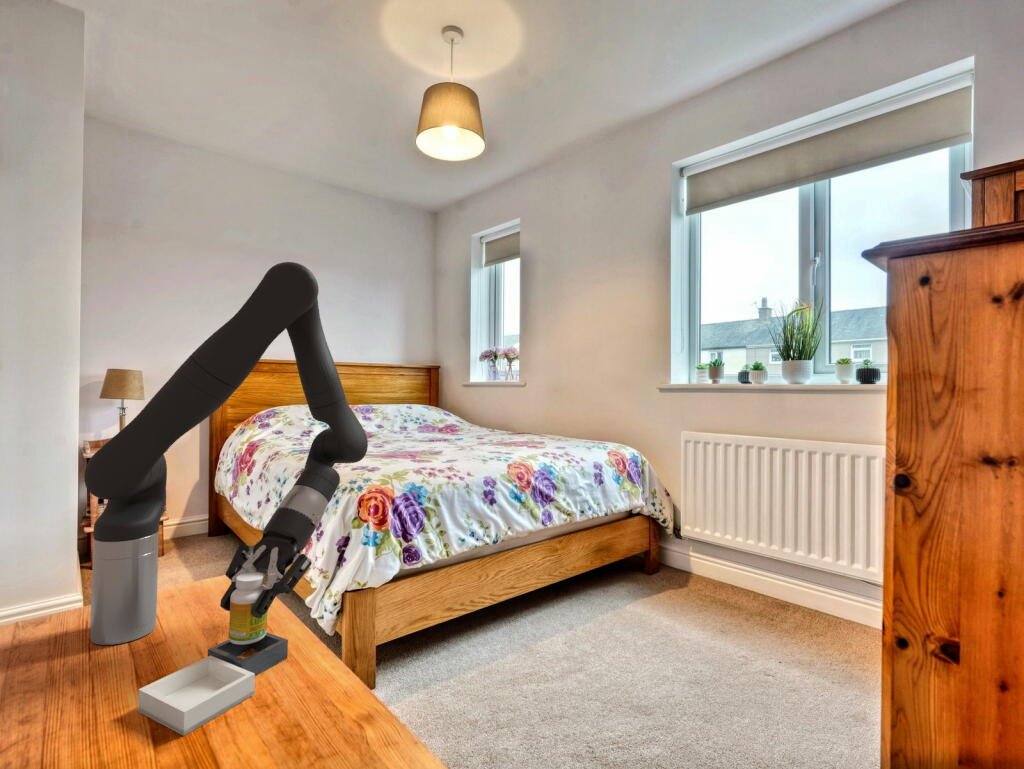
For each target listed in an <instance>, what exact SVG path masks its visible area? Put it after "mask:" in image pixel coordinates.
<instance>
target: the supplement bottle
mask: <svg viewBox="0 0 1024 769" xmlns="http://www.w3.org/2000/svg"><path fill="white" fill-rule="evenodd" d="M264 583H265V573H260V572H248V573H244V574H241V575H239V576H237V578H236V588H237V589H236V590H234V591H233V593H232V594H231V598H230V611H229V624H228V640H230V642H231V643H233V644H239V645H243V644H251V643H254V642H257V641H259V640H261V639H262V638H263V637H264V636H265V635H266V632H267V630H268V611H269V610H268V611H267V612H266V613H265V614H264V615H263V616H262V617H261V618H256V617H254V616H253V615H252V614H251V609H252V608H253V606H254V604H255V602H256V601H257V599H258V597H259V596H260V594H261V592H262V591H263V589H264V590H266V589H267V588H266V586H265V585H264ZM267 633H268V632H267Z"/></svg>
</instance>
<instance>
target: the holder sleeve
mask: <svg viewBox="0 0 1024 769" xmlns="http://www.w3.org/2000/svg"><path fill="white" fill-rule="evenodd" d="M288 646H289V639H287V638H284V637H282V636H278V635H275V634H272V633H270V632H266V635H265V636H264V637H263V638H262V639H261V640H259V641H257V642H254V643H251V644H243V645H239V644H233V643H231V642H230V640H229V639H227V640H225V641H222V642H221V643H217V645H213V646H211V647H210V648H207V657H208V656H210V655H211V656H213V657H215V658H218V659H220V660H223V661H225V662H228V663H230V664H233V665H235V666H237V667H240V668H242V669H245V670H247V671H250V672H252V673H255V677H256V676H258V675H260V674H262V673H264V672H266V671H267V670H268V669H271V668H273V667H274V666H276V665H278V664H280V663H282V662H283V661H285V660H286V659H285V658H287V659H288V651H289V647H288ZM251 649H252V650H254V649H255V651H257V652H256V653H255V652H254V653H253V654H251V655H249V656H248V657H246V658H242V657H240V656H242V655H244V654H245V652H246V653H247V651H248V652H250V651H251ZM249 650H250V651H249ZM243 653H244V654H243ZM241 654H242V655H241ZM284 659H285V660H284ZM282 660H283V661H282ZM279 662H280V663H279Z"/></svg>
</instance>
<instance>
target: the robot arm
mask: <svg viewBox="0 0 1024 769" xmlns="http://www.w3.org/2000/svg"><path fill="white" fill-rule="evenodd" d="M318 296H319V284H318V281H317V279H316V276H315V275H314V274H313V272H312V271H311V269H309V268H307V267H306V266H304V265H303V264H301V263H298V262H294V261H284V262H283V261H282V262H279V263H276V264H275V265H273V266H272V267H271V268H269V269H268V270H267V271H266V272H265V275H264V276H263V277H262V279H261V281H260V282H259V283H258V285H257V286H256V287H255V289H254V291H253V292H252V293H251V295H249V297H248V299H247V300H246V301H245V302H244V304H243V305H241V308H240V309H239V310H238V311H237V312H236V313H235V314H234V315H233V317H231V318H230V319H229V320H227V322H226V323H224V324H223V325H221V327H219V328H218V329H217V330H216V331H214V332H213V333H212V334H211V335H210V336H209V337H208V338H207V339H206V340H204V342H202V343H201V345H199V346H198V347H197V348H196V349H194V351H193V352H192V353H191V354H190V355H189V356H188V357H187V358H186V360H185V361H183V363H182V364H181V365H180V366H179V367H178V368H177V369H176V371H175V372H174V373H173V374H172V375H171V377H170V378H169V379H168V380H167V381H166V382H165V383H164V384H163V385H162V386H161V388H159V390H158V391H157V392H156V393H155V394H154V395H153V396H152V398H151V399H150V400H149V401H148V403H147V404H146V405H145V406H144V407H143V408H142V410H140V412H139V413H138V414H137V415H136V416H135V417H134V418H133V419H132V420H131V421H130V422H129V423H128V424H126V425H125V426H124V427H123V428H122V429H121V430H120V431H118V433H117V434H116V435H114V436H113V437H112V438H110V440H108V441H107V442H106V443H105V444H103V445H102V446H101V447H100V448H99V449H98V450H97V451H96V452H95V453H94V454H93V455H92V456H91V457H90V459H89V460H88V462H87V463H86V467H85V469H84V474H83V479H84V484H85V487H86V489H87V491H88V492H89V493H90V494H91V495H93V496H94V497H96V498H98V499H102V500H106V501H107V503H106V506H105V508H104V510H103V512H102V513H101V514H100V515H99V517H97V519H96V520H95V522H94V524H93V531H92V532H93V539H92V540H93V541H92V544H93V545H92V568H91V569H92V574H91V575H92V577H91V578H92V579H91V586H90V587H91V591H90V592H91V594H90V621H89V622H90V623H89V626H90V627H89V628H90V629H89V633H90V641H91V643H92V644H96V645H102V646H103V645H104V646H109V645H111V646H112V645H117V644H123V643H128V642H132V641H136V640H137V639H141V638H142V637H145V636H146V635H149V634H150V633H152V632H153V631H154V630H155V629H156V627H157V612H158V610H157V606H158V605H157V604H158V579H159V578H158V575H159V574H158V572H159V570H158V568H159V567H158V566H159V537H160V536H159V534H160V532H159V531H160V522H161V519H162V516H163V514H164V511H165V506H166V505H165V503H166V493H167V492H166V490H167V479H168V478H167V477H168V476H167V475H168V466H167V460H166V456H165V455H164V454H165V453H166V452H167V451H168V449H170V448H171V447H172V445H174V444H175V443H176V442H177V441H178V440H179V439H181V438H182V437H183V436H185V434H186V433H188V432H189V431H191V430H192V429H194V428H195V427H197V426H199V424H201V423H202V422H204V421H205V420H206V419H208V418H209V417H210V416H211V415H212V414H213V413H215V412H216V411H218V409H219V408H221V406H223V404H225V403H226V402H227V400H228V399H229V398H230V397H231V396H232V395H233V394H234V393H235V391H237V390H238V389H239V387H241V385H242V384H243V383H244V381H246V379H247V378H248V377H249V376H250V374H251V373H252V372H253V370H254V369H255V367H256V365H258V363H259V361H260V359H261V358H262V357H263V356H264V353H266V351H267V349H268V348H269V347H270V345H271V344H272V343H273V342H274V341H275V340H276V338H278V337H279V336H280V335H281V334H282V333H283V332H284V331H285V330H286V331H287V332H286V333H287V334H288V338H289V339H290V340H289V341H290V343H291V346H292V347H291V348H292V350H293V354H294V359H295V362H296V367H297V371H298V375H299V380H300V384H301V388H302V391H303V394H304V397H305V400H306V402H307V406H308V409H309V412H310V414H311V416H312V418H313V419H314V420H315V421H318V422H321V423H323V424H326V425H327V426H328V427H329V428H326V429H323V430H322V431H320V432H319V433H318V434H317V435H316V436H315V437H314V438H313V440H312V443H311V445H310V448H309V452H308V454H307V456H306V457H307V458H306V461H305V465H304V469H303V470H302V472H301V474H300V475H299V477H298V478H297V480H296V481H295V482H294V484H293V486H292V488H291V489H290V490H289V491H288V492H287V493H286V495H285V496H284V498H283V499H282V500H281V502H280V503H279V505H278V506H277V508H276V509H275V511H274V513H273V514H272V516H271V517H270V519H269V520H268V522H267V524H266V525H265V527H264V529H263V531H262V532H263V533H262V537H261V539H260V540H259V541H257V542H256V543H255V544H254V545H247V544H246V543H245V542H241V543H240V544H239V545H238V546H237V549H236V551H235V553H234V555H233V557H232V559H231V562H230V564H229V566H228V568H227V570H226V572H225V577H226V578H228V579H229V580H230V584H229V586H228V588H227V590H226V591H225V592H224V594H223V596H222V598H221V599H220V603H219V606H220V608H222V609H223V610H224V611H227V612H230V598H231V594H232V593H233V591H234V590H236V589H237V588H236V578H237V576H239V575H241V574H244V573H248V572H260V573H263V574H267V581H266V586H265V587H266V588H267V589H266V590H264V589H263V591H262V592H261V594H260V596H259V597H258V599H257V601H256V602H255V604H254V606H253V608H252V609H251V614H252V615H253V616H254V617H256V618H261V617H262V616H263V615H264V614H265V613H266V612H267V611H269V609H270V608H271V605H272V604H273V602H274V601H275V598H276V597H277V596H279V595H280V594H286V595H289V594H290V593H292V591H293V590H294V588H295V587H296V586H297V585H298V583H299V582H300V580H301V579H302V578H303V576H304V575H305V574H306V572H307V571H308V570H309V568H310V567H311V566H312V564H313V563H312V561H311V560H310V558H309V557H308V556H307V555H306V554H305V553H301V551H303V550H304V549H305V548H306V546H307V544H308V543H309V541H310V539H311V538H312V536H313V534H314V533H315V531H316V529H317V528H318V525H319V524H320V522H321V520H322V518H323V516H324V515H325V512H326V509H327V507H328V505H329V503H330V502H331V500H332V498H333V497H334V495H335V493H336V491H337V489H338V487H339V485H340V481H341V476H340V474H339V472H338V471H337V470H336V469H335V468H334V466H335V465H336V464H355V463H359V462H361V461H362V460H363V459H364V457H366V455H367V453H368V447H369V446H368V445H369V441H368V437H367V436H368V435H367V433H366V431H365V429H364V427H363V426H362V424H361V423H360V421H359V418H357V416H356V414H355V412H354V411H353V410H352V408H351V407H350V405H349V404H348V401H347V397H346V394H345V390H344V388H343V384H342V380H341V377H340V374H339V372H338V369H337V367H336V364H335V361H334V358H333V355H332V353H331V350H330V348H329V345H328V342H327V339H326V336H325V332H324V330H323V324H322V320H321V316H320V309H319V308H320V307H319V300H318ZM253 567H254V568H255V569H253ZM267 613H268V612H267Z"/></svg>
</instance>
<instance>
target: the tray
mask: <svg viewBox="0 0 1024 769" xmlns="http://www.w3.org/2000/svg"><path fill="white" fill-rule="evenodd" d="M255 681H256V676H255V673H252V672H250V671H247V670H245V669H242V668H240V667H237V666H235V665H233V664H230V663H228V662H225V661H223V660H220V659H218V658H215V657H213V656H211V655H210V656H208V655H207V656H206V657H204V658H202V659H200V660H198V661H196V662H194V663H191V664H189V665H187V666H185V667H183V668H181V669H179V670H176V671H175V672H172V673H170V674H168V675H166V676H164V677H162V678H160V679H158V680H156V681H154V682H151V683H150V684H147V685H145V686H142V687H141V688H138V700H137V702H138V703H137V704H138V705H137V707H138V708H137V712H138V713H140V714H142V715H144V716H146V717H148V718H149V719H151V720H152V721H155V722H157V723H158V724H160V725H162V726H165V727H166V728H168V729H170V730H171V731H173V732H176V733H177V734H179V735H181V736H183V737H184V736H187V735H189V733H191V732H194V730H196V729H198V728H200V727H202V726H203V725H205V724H207V723H209V722H211V721H212V720H214V719H215V718H217V717H219V716H221V715H222V714H224V713H225V712H227V711H229V710H230V709H233V708H234V707H236V706H237V705H239V704H240V703H241V704H242V702H244V701H246V700H248V699H249V698H251V697H252V696H254V695H255V685H256V682H255Z"/></svg>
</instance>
